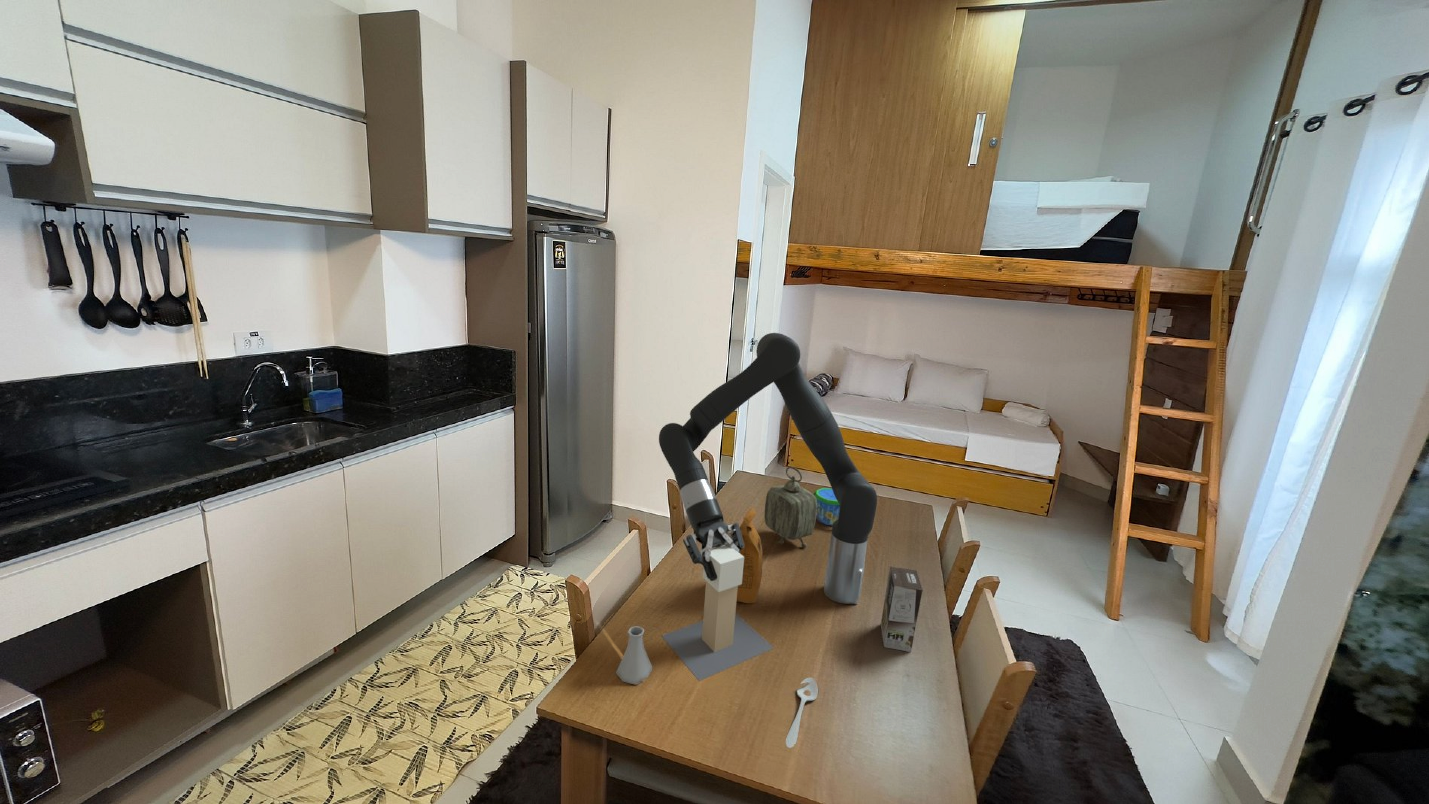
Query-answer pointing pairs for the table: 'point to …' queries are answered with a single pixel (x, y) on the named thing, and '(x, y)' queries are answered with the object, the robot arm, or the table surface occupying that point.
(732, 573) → the white cube block
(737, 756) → the table surface
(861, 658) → the table surface
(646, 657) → the flask
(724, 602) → the beige tall block
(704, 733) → the table surface
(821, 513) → the snack cup
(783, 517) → the tabletop clock
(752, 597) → the coffee package
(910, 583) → the coffee box
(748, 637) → the mat
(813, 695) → the spoon
